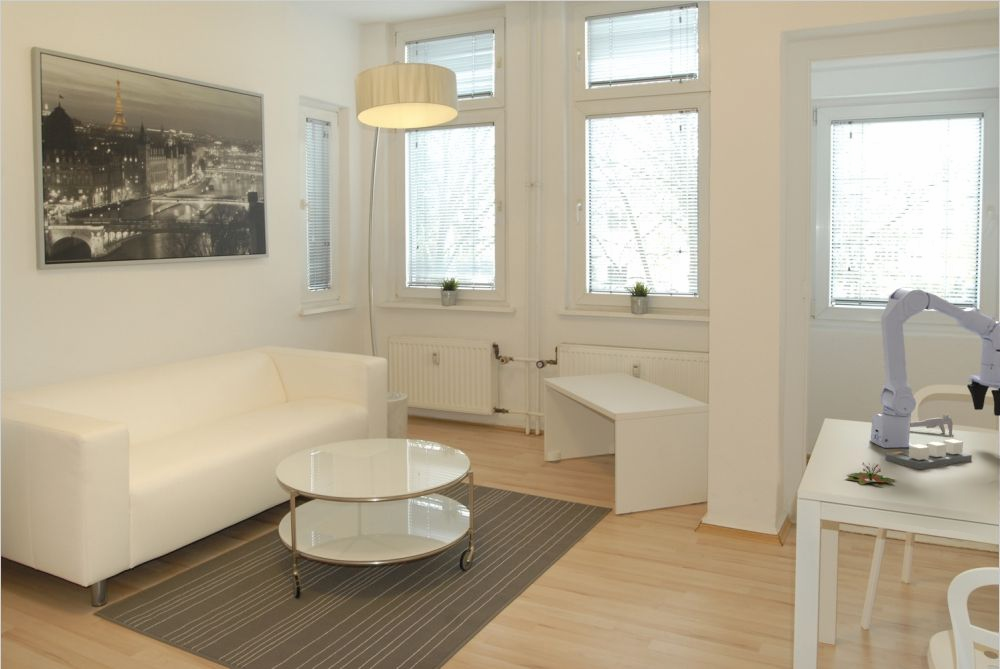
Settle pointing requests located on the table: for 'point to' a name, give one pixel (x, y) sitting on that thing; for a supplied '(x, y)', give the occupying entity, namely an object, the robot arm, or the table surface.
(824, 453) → the table surface
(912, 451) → the light grey block
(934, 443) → the tab
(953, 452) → the tab
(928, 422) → the caliper
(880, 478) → the lily flower
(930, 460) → the switch panel
